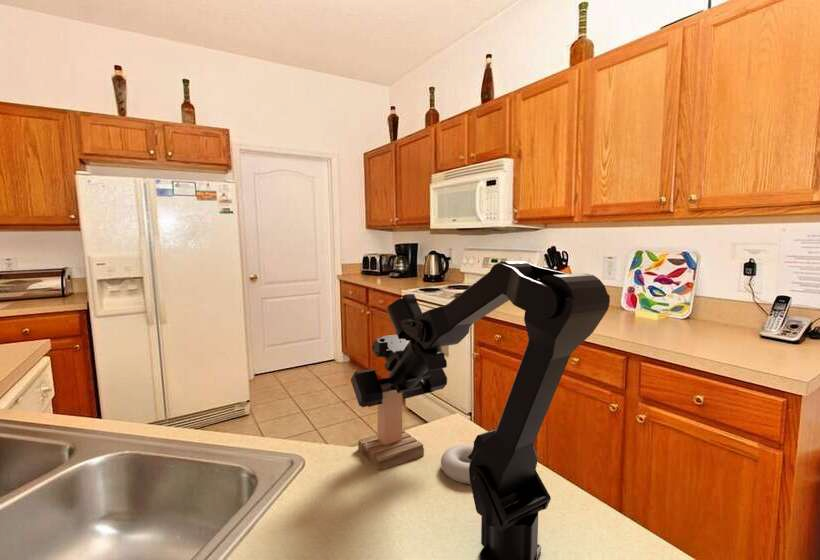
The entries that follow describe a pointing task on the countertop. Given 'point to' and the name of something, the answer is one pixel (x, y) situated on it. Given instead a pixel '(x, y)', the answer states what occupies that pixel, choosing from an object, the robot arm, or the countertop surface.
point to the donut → (457, 462)
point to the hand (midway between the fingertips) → (386, 400)
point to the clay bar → (390, 418)
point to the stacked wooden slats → (390, 450)
